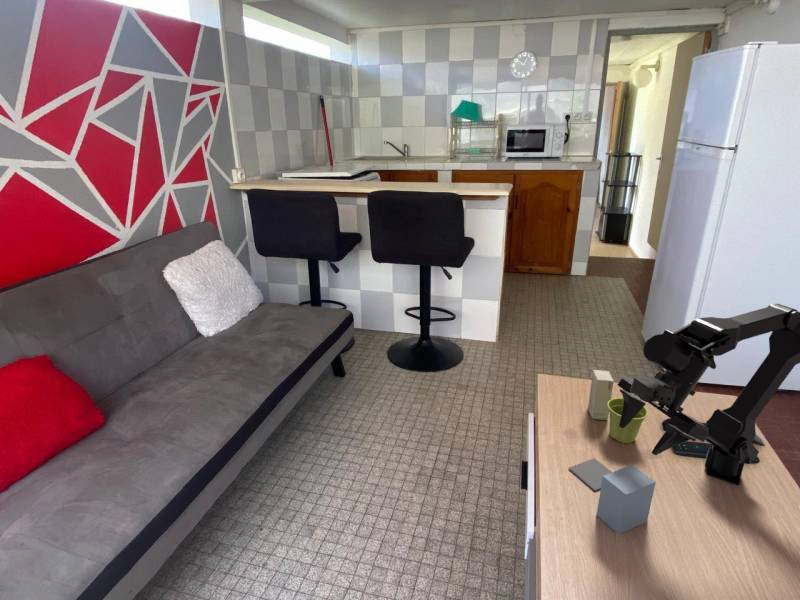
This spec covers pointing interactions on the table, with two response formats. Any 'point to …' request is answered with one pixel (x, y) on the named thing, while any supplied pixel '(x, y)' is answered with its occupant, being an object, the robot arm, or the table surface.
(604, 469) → the pad
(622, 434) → the plant pot
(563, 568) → the table surface
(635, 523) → the grey rectangular block
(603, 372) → the skincare box
